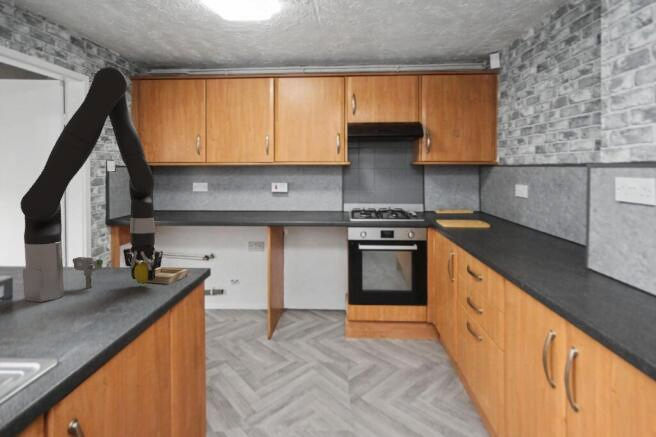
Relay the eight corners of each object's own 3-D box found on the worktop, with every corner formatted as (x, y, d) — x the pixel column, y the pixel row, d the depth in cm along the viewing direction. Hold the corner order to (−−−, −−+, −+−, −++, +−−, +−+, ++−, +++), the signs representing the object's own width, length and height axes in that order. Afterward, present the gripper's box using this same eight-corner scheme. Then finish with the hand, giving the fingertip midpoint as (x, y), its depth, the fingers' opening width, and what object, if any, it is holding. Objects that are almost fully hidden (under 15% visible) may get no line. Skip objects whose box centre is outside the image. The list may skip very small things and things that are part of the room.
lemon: (134, 287, 132) (134, 263, 132) (134, 283, 137) (133, 260, 136) (152, 285, 135) (152, 262, 134) (151, 281, 140) (151, 259, 139)
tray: (168, 283, 140) (168, 277, 140) (139, 281, 142) (138, 274, 142) (188, 275, 152) (187, 269, 151) (160, 273, 154) (160, 267, 154)
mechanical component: (98, 290, 131) (97, 260, 129) (72, 287, 133) (70, 258, 132) (105, 287, 133) (104, 258, 132) (79, 285, 135) (77, 256, 134)
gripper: (116, 230, 132) (117, 280, 134) (154, 233, 129) (154, 284, 131) (131, 228, 139) (132, 275, 141) (168, 230, 136) (168, 278, 138)
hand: (143, 279), depth 136 cm, fingers closed on lemon, 5 cm apart
